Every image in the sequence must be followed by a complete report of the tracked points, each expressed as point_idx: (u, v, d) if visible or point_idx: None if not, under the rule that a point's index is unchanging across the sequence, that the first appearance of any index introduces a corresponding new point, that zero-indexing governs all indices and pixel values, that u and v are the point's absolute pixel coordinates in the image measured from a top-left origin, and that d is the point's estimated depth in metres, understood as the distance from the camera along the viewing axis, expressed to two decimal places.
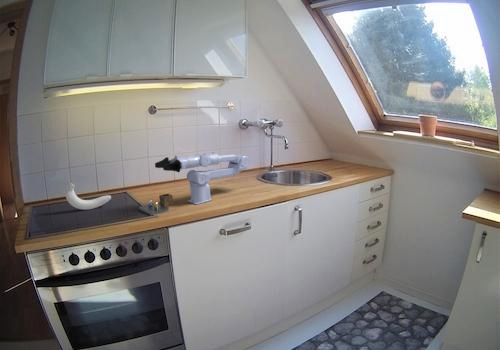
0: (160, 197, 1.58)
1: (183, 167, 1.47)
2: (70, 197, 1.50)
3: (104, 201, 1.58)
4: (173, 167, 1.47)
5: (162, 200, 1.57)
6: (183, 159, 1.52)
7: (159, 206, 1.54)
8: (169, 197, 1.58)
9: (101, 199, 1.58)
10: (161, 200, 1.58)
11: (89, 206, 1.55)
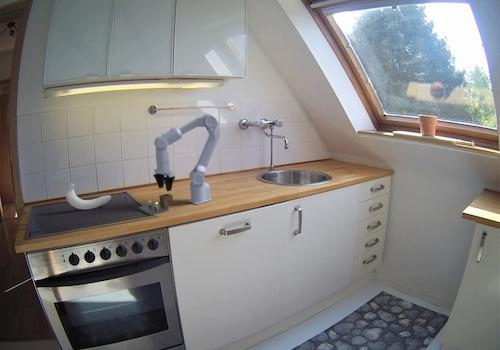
0: (160, 197, 1.58)
1: (172, 175, 1.51)
2: (70, 197, 1.50)
3: (104, 201, 1.58)
4: (169, 181, 1.54)
5: (162, 200, 1.57)
6: (160, 167, 1.53)
7: (159, 206, 1.54)
8: (169, 197, 1.58)
9: (101, 199, 1.58)
10: (161, 200, 1.58)
11: (89, 206, 1.55)
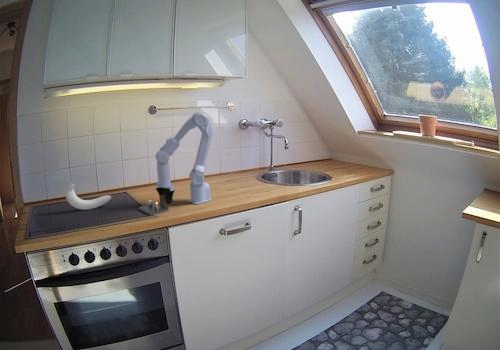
0: (160, 197, 1.58)
1: (173, 189, 1.53)
2: (70, 197, 1.50)
3: (104, 201, 1.58)
4: (169, 194, 1.56)
5: (162, 200, 1.57)
6: (162, 181, 1.54)
7: (159, 206, 1.54)
8: None
9: (101, 199, 1.58)
10: (161, 200, 1.58)
11: (89, 206, 1.55)
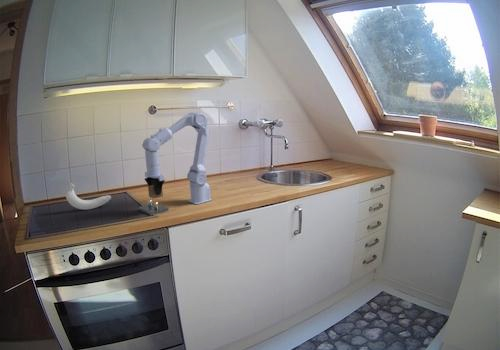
0: (149, 188, 1.48)
1: (162, 178, 1.43)
2: (70, 197, 1.50)
3: (104, 201, 1.58)
4: (158, 184, 1.47)
5: (151, 191, 1.47)
6: (150, 170, 1.44)
7: (159, 206, 1.54)
8: None
9: (101, 199, 1.58)
10: (150, 191, 1.48)
11: (89, 206, 1.55)
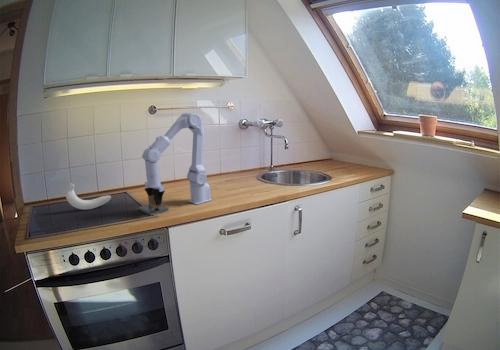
0: (149, 198, 1.49)
1: (162, 189, 1.43)
2: (70, 197, 1.50)
3: (104, 201, 1.58)
4: (159, 195, 1.47)
5: (151, 201, 1.48)
6: (151, 181, 1.45)
7: None
8: None
9: (101, 199, 1.58)
10: (150, 201, 1.48)
11: (89, 206, 1.55)
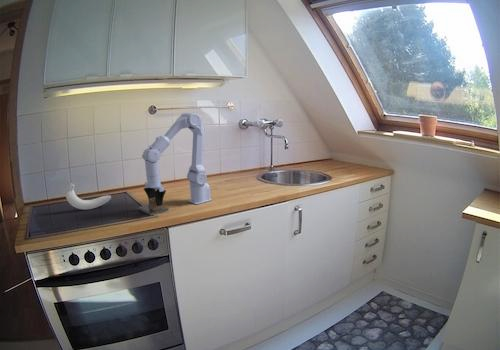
0: (149, 201, 1.49)
1: (162, 189, 1.43)
2: (70, 197, 1.50)
3: (104, 201, 1.58)
4: (160, 195, 1.46)
5: (151, 204, 1.48)
6: (151, 181, 1.45)
7: None
8: None
9: (101, 199, 1.58)
10: (150, 204, 1.49)
11: (89, 206, 1.55)
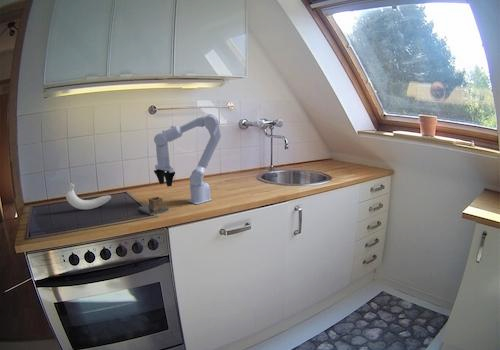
0: (149, 201, 1.49)
1: (172, 170, 1.54)
2: (70, 197, 1.50)
3: (104, 201, 1.58)
4: (169, 176, 1.57)
5: (151, 204, 1.48)
6: (161, 163, 1.56)
7: None
8: (159, 201, 1.48)
9: (101, 199, 1.58)
10: (150, 204, 1.49)
11: (89, 206, 1.55)
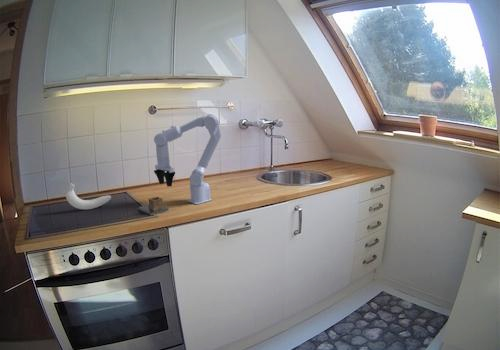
0: (149, 201, 1.49)
1: (172, 170, 1.54)
2: (70, 197, 1.50)
3: (104, 201, 1.58)
4: (169, 176, 1.57)
5: (151, 204, 1.48)
6: (161, 163, 1.56)
7: None
8: (159, 201, 1.48)
9: (101, 199, 1.58)
10: (150, 204, 1.49)
11: (89, 206, 1.55)
